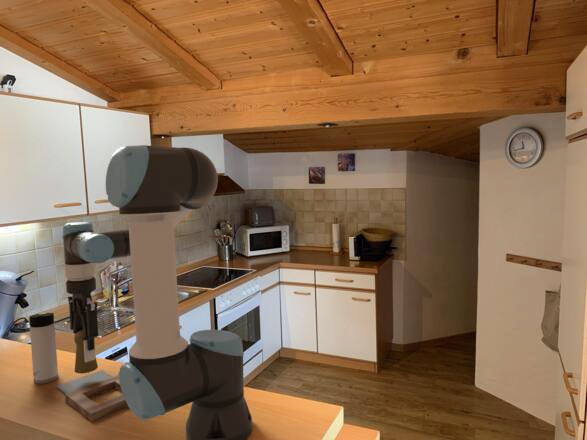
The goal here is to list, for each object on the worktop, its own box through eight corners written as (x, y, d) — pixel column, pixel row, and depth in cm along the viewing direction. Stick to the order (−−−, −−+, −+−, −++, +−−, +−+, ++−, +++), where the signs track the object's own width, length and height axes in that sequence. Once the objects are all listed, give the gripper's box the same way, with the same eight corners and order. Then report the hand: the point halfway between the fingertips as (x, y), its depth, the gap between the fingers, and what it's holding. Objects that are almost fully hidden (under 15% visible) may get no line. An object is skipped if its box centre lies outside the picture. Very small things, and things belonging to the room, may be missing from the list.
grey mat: (116, 380, 127) (116, 378, 127) (70, 397, 117) (69, 395, 117) (102, 371, 133) (102, 370, 133) (56, 387, 123) (56, 385, 123)
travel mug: (32, 386, 124) (27, 317, 122) (35, 376, 130) (30, 311, 128) (57, 381, 127) (52, 314, 125) (58, 372, 133) (54, 308, 131)
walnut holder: (147, 397, 117) (147, 390, 117) (91, 421, 106) (90, 413, 105) (120, 381, 127) (119, 374, 126) (65, 401, 115) (65, 394, 115)
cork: (101, 364, 128) (99, 327, 127) (92, 373, 122) (90, 334, 121) (80, 364, 127) (78, 327, 126) (70, 373, 121) (68, 335, 120)
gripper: (109, 279, 119) (113, 362, 121) (80, 271, 131) (85, 346, 133) (81, 285, 113) (86, 371, 115) (53, 275, 125) (58, 353, 127)
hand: (85, 357), depth 124 cm, fingers closed on cork, 5 cm apart
